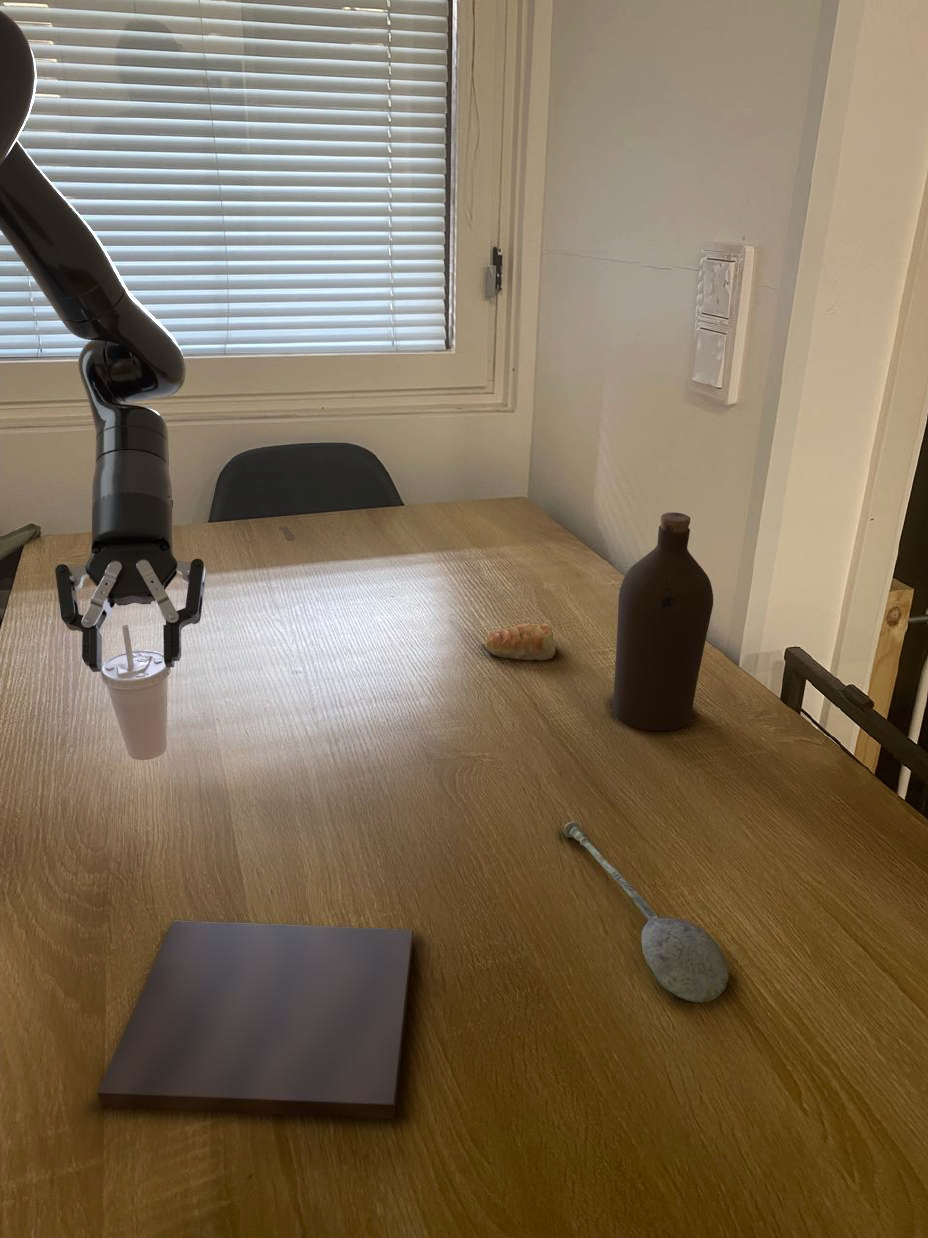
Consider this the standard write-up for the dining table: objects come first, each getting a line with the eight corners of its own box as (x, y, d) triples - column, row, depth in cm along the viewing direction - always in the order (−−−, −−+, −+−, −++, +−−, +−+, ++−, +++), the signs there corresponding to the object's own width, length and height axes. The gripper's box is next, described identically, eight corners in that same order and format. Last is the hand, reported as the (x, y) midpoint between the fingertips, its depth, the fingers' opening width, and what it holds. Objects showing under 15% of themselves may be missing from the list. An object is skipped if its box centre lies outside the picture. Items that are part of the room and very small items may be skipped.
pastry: (489, 664, 121) (490, 638, 119) (481, 641, 127) (482, 617, 125) (557, 661, 122) (559, 635, 121) (547, 639, 128) (548, 614, 127)
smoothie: (99, 758, 90) (77, 631, 84) (142, 727, 95) (124, 605, 89) (152, 774, 88) (134, 644, 82) (193, 740, 93) (179, 616, 87)
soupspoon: (672, 1021, 70) (740, 998, 73) (680, 989, 69) (749, 967, 71) (540, 841, 88) (599, 827, 90) (545, 813, 86) (604, 800, 89)
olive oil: (713, 727, 108) (745, 527, 97) (633, 742, 104) (657, 536, 94) (667, 685, 117) (691, 498, 106) (592, 697, 114) (610, 505, 103)
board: (100, 1108, 62) (97, 1093, 61) (174, 934, 76) (172, 920, 76) (394, 1120, 61) (393, 1105, 61) (413, 943, 76) (413, 929, 75)
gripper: (45, 491, 86) (40, 660, 81) (203, 487, 89) (208, 650, 83) (65, 526, 93) (61, 684, 87) (210, 521, 96) (215, 673, 90)
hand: (132, 666), depth 85 cm, fingers closed on smoothie, 6 cm apart
